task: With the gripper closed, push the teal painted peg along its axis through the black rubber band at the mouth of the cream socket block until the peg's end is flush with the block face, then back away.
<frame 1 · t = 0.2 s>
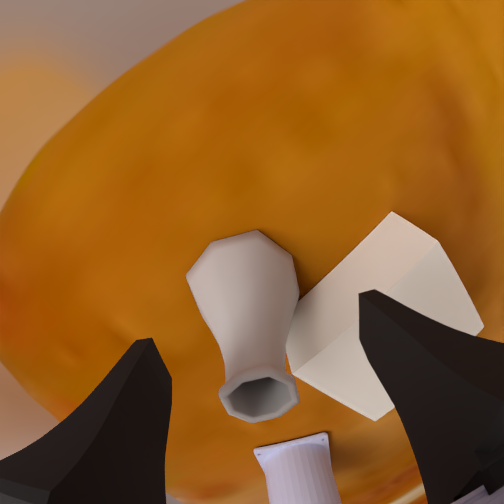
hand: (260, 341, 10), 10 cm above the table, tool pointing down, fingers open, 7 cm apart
socket block: (373, 305, 23), on the table
flask: (243, 281, 21), on the table
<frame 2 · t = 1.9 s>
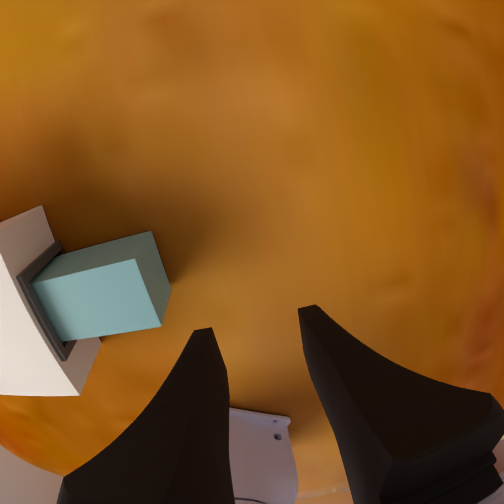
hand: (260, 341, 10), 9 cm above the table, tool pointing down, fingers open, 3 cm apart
socket block: (22, 291, 19), on the table
peg: (94, 289, 17), point 2 cm above the table, slide at 7.0 cm
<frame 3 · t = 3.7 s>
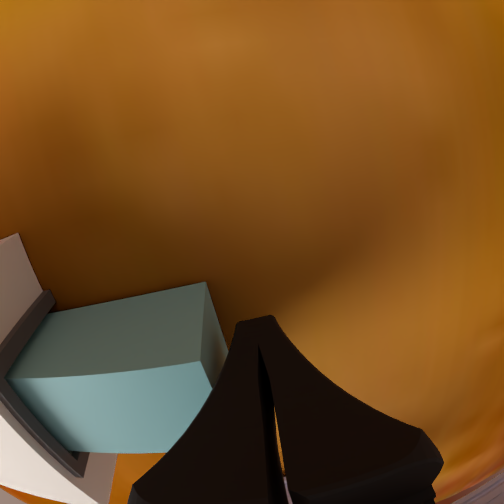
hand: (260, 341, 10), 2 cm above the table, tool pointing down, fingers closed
socket block: (5, 353, 12), on the table
peg: (112, 378, 10), point 2 cm above the table, slide at 6.8 cm, touching gripper
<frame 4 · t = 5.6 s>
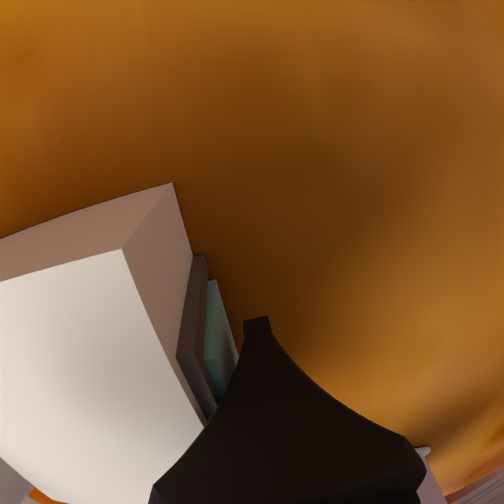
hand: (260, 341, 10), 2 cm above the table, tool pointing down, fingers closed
socket block: (101, 342, 12), on the table
flask: (23, 415, 14), on the table
peg: (121, 377, 10), point 2 cm above the table, slide at 0.6 cm, touching gripper
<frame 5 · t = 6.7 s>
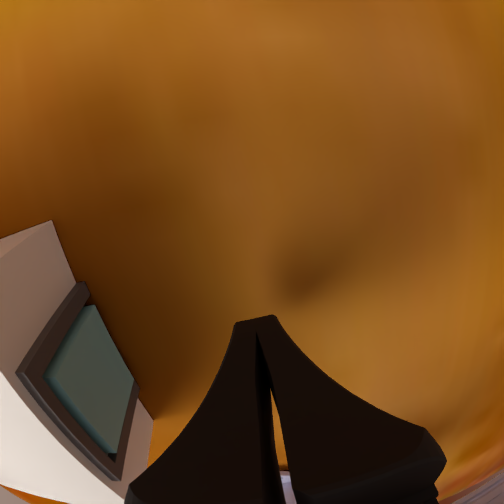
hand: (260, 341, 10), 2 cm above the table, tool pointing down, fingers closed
socket block: (25, 351, 12), on the table
peg: (28, 382, 10), point 2 cm above the table, slide at 0.6 cm
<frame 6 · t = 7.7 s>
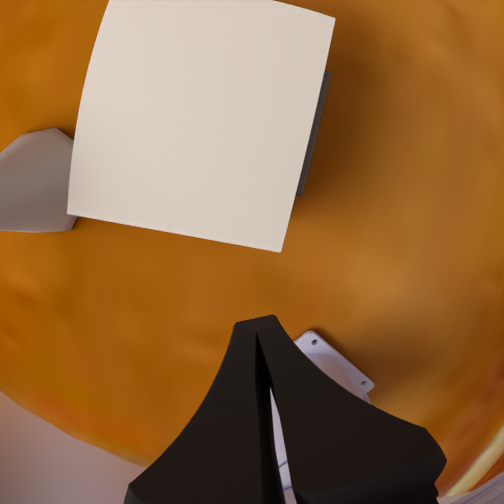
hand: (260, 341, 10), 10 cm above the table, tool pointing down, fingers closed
socket block: (202, 114, 17), on the table
flask: (47, 180, 17), on the table
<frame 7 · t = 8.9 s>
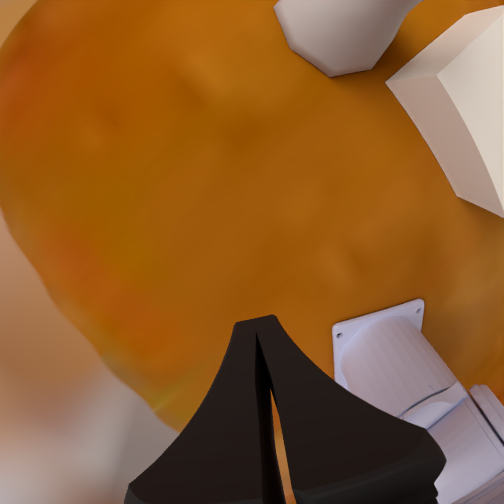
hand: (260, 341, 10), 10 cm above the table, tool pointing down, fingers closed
socket block: (467, 100, 17), on the table
flask: (334, 23, 15), on the table
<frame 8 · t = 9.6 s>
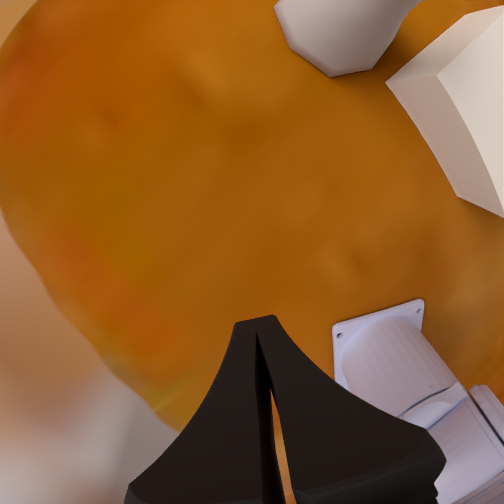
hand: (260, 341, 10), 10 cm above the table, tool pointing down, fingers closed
socket block: (467, 100, 17), on the table
flask: (334, 23, 15), on the table
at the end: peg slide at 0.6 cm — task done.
